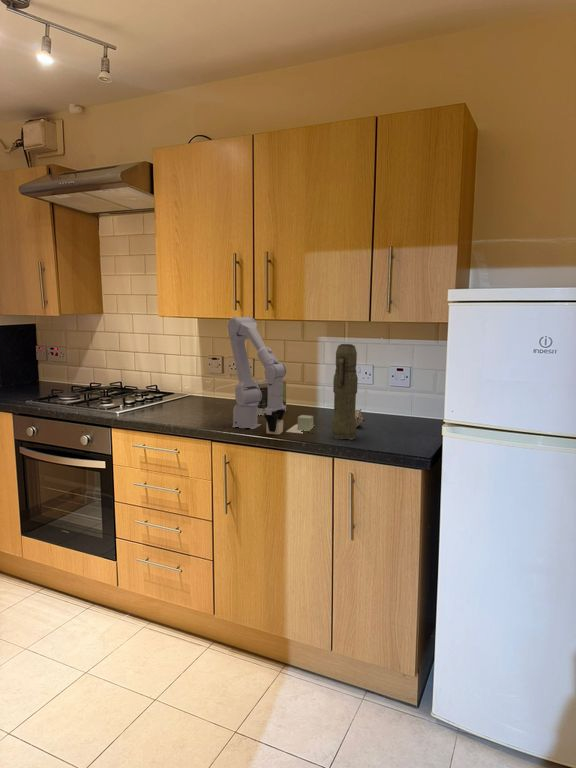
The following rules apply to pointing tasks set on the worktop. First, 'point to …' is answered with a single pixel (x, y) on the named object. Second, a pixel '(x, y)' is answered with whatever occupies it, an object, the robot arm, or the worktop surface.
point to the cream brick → (278, 428)
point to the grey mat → (294, 429)
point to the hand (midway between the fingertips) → (274, 429)
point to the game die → (358, 417)
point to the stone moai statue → (345, 392)
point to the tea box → (264, 401)
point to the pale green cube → (305, 422)
